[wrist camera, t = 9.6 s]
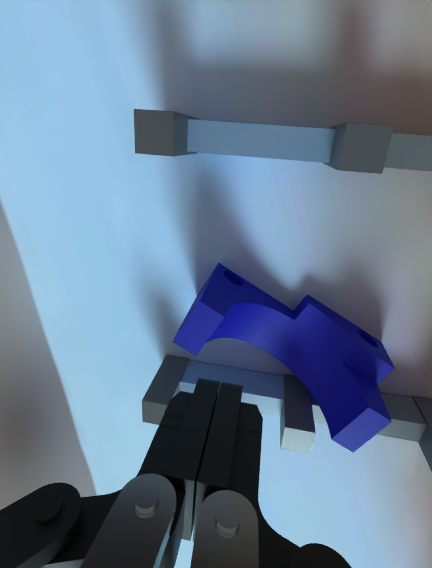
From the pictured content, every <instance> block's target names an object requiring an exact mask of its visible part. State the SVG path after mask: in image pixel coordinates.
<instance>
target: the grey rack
mask: <svg viewBox="0 0 432 568" xmlns="http://www.w3.org/2000/svg"><path fill="white" fill-rule="evenodd" d="M134 129H135V153H140V154H152V155H164V156H179V155H187V154H195V153H198V152H201V153H213V154H225V155H238V156H250V157H262V158H275V159H287V160H300V161H312V162H323V163H324V164H326V165H328V166H330V167H332V168H334V169H336V170H344V171H356V172H368V173H380V174H382V172H383V168H384V167H386V168H399V169H411V170H423V171H432V136H430V135H415V134H400V133H393V129H394V126H389V125H374V124H358V123H345V124H341V125H338V126H335V127H331V128H330V129H326V128H311V127H296V126H281V125H267V124H252V123H237V122H222V121H207V120H199V119H197V118H194V117H190V116H187V115H184V114H180V113H177V112H173V111H157V110H142V109H134ZM198 378H203V379H208V380H214V381H220V386H221V383H222V382H226V383H231V384H237V385H243V391H242V398H241V402H244V403H249V404H255V405H257V406H258V408H259V411H260V413H263V414H269V415H274V416H279V417H280V449H285V450H290V451H295V452H300V453H306V454H310V452H311V448H312V444H313V440H314V437H315V425H314V423H318V424H323V425H327V422H326V420H325V417H324V415H323V413H322V411H321V409H320V407H319V405H318V404H317V402H316V400H315V399H314V397H313V396H312V394H311V393H310V392H309V390H308V389H307V388H306V386H305V385H304V384H303V383H302V381H301V380H300V379H299V378H298V377H296V376H290V375H284V376H280V375H274V374H268V373H262V372H256V371H250V370H244V369H238V368H232V367H226V366H220V365H214V364H208V363H202V362H196V361H190V360H189V359H187V358H181V357H175V356H169V355H166V357H165V359H164V360H163V362H162V364H161V366H160V368H159V370H158V372H157V374H156V375H155V377H154V379H153V381H152V383H151V385H150V387H149V388H148V390H147V392H146V394H145V396H144V398H143V400H142V415H143V422H147V423H152V424H157V425H159V424H160V422H161V419H162V417H163V416H164V412H165V410H166V408H167V405H168V403H169V401H170V400H171V399H172V398H173V397H174V396H175V395H176V394H177V393H179V392H180V391H184V392H189V393H193V392H194V389H195V386H196V383H197V380H198ZM380 393H381V396H382V398H383V401H384V403H385V406H386V408H387V411H388V413H389V416H390V418H391V421H392V422H391V423H390V424H389V425H387V426H386V427H385V428H384V429H382V430H381V431H380V432H378V433H377V434H378V435H383V436H389V437H394V438H400V439H405V440H411V441H416V442H418V443H419V445H420V447H421V449H422V452H423V454H424V456H425V458H426V460H427V462H428V465H429V467H430V469H431V471H432V399H428V398H422V397H416V396H413V398H412V397H406V396H400V395H394V394H388V393H382V392H380Z"/></svg>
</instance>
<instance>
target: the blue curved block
mask: <svg viewBox="0 0 432 568" xmlns="http://www.w3.org/2000/svg"><path fill="white" fill-rule="evenodd" d="M217 338H235V339H239V340H243V341H246V342H249V343H251V344H254V345H256V346H258V347H260V348H262V349H263V350H265V351H267V352H268V353H270V354H271V355H273V356H274V357H276V358H277V359H278V360H280V361H281V362H282V363H283V364H285V365H286V366H287V367H288V368H289V369H290V370H291V371H292V372H293V373H294V374H295V375H296V376H297V377H298V378H299V379H300V380H301V381H302V383H303V384H304V385H305V386H306V388H307V389H308V390H309V392H310V393H311V394H312V396H313V397H314V399H315V400H316V402H317V404H318V405H319V407H320V409H321V411H322V413H323V415H324V417H325V420H326V422H327V425H328V428H329V431H330V435H331V439H332V440H334V441H335V442H337V443H338V444H340V445H342V446H343V447H345V448H347V449H348V450H350V451H351V452H354V451H356V450H357V449H358V448H359V447H361V446H362V445H363V444H365V443H366V442H367V441H368V440H370V439H371V438H372V437H373V436H375V435H376V434H377V433H378V432H380V431H381V430H382V429H384V428H385V427H386V426H387V425H389V424H390V423H391V422H392V421H391V418H390V416H389V413H388V411H387V408H386V406H385V403H384V401H383V398H382V396H381V393H380V391H379V388H378V386H377V384H378V383H379V382H380V381H381V380H382V379H383V378H385V377H386V376H387V375H388V374H389V373H390V372H391V371H393V370H394V369H395V368H394V366H393V364H392V362H391V360H390V358H389V356H388V354H387V352H386V350H385V348H384V346H383V344H382V342H380V341H379V340H377V339H376V338H374V337H373V336H371V335H369V334H368V333H366V332H365V331H363V330H362V329H360V328H359V327H357V326H356V325H354V324H352V323H351V322H349V321H348V320H346V319H345V318H343V317H342V316H340V315H338V314H337V313H335V312H334V311H332V310H331V309H329V308H328V307H326V306H325V305H323V304H321V303H320V302H318V301H317V300H315V299H314V298H312V297H311V296H309V295H307V296H306V297H305V298H304V299H303V300H302V302H301V303H300V304H299V305H298V306H297V308H296V309H295V310H294V311H293V310H291V309H290V308H288V307H287V306H285V305H284V304H282V303H280V302H279V301H277V300H276V299H274V298H273V297H271V296H270V295H268V294H266V293H265V292H263V291H262V290H260V289H259V288H257V287H255V286H254V285H252V284H251V283H249V282H248V281H246V280H244V279H243V278H241V277H240V276H238V275H237V274H235V273H234V272H232V271H230V270H229V269H227V268H226V267H224V266H223V265H221V264H218V265H217V267H216V268H215V270H214V271H213V273H212V274H211V276H210V277H209V279H208V280H207V282H206V283H205V285H204V286H203V288H202V289H201V291H200V292H199V294H198V295H197V297H196V299H195V301H194V303H193V304H192V306H191V308H190V310H189V312H188V314H187V316H186V317H185V319H184V321H183V323H182V325H181V327H180V329H179V330H178V332H177V334H176V336H175V338H174V340H173V342H174V343H176V344H177V345H179V346H180V347H182V348H184V349H185V350H187V351H189V352H190V353H192V354H193V355H195V356H196V355H197V354H198V353H199V351H200V350H201V348H202V347H203V346H204V344H205V343H207V342H209V341H211V340H213V339H217Z"/></svg>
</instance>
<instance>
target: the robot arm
mask: <svg viewBox="0 0 432 568" xmlns="http://www.w3.org/2000/svg"><path fill="white" fill-rule="evenodd" d="M242 391H243V385H237V384H231V383H226V382H222V383H221V386H220V381H214V380H208V379H203V378H198V380H197V383H196V386H195V389H194V392H193V393H189V392H184V391H180V392H179V393H177V394H176V395H175V396H174V397H173V398H172V399H171V400H170V401H169V403H168V405H167V408H166V410H165V412H164V416H163V417H162V419H161V422H160V424H159V428H158V429H157V431H156V434H155V436H154V438H153V441H152V443H151V445H150V448H149V450H148V452H147V455H146V457H145V459H144V462H143V464H142V466H141V469H140V471H139V473H138V474H137V476H136V477H135V478H133V479H132V480H130V481H129V482H128V483H127V484H126V485H125V486H124V487H123V488H122V489H121V490H119V491H117V492H114V493H111V494H106V495H98V496H91V497H82V498H81V497H80V494H79V492H78V491H77V489H76V488H75V487H73V486H72V485H70V484H67V483H53V484H48V485H46V486H43V487H41V488H39V489H37V490H36V491H34V492H32V493H30V494H28V495H27V496H25V497H23V498H21V499H20V500H18V501H16V502H14V503H12V504H11V505H9V506H7V507H5V508H4V509H2V510H0V568H174V566H175V562H176V559H177V555H178V551H179V546H180V542H181V539H185V540H189V541H190V540H191V535H192V531H193V526H194V532H193V541H194V546H193V553H192V560H191V566H190V568H351V566H350V565H349V564H348V563H347V561H346V560H345V559H344V558H343V557H342V556H341V555H340V554H339V553H337V552H336V551H335V550H333V549H332V548H330V547H328V546H325V545H322V544H317V543H310V544H306V545H304V546H302V547H299V546H297V545H295V544H294V543H292V542H290V541H289V540H287V539H286V538H284V537H282V536H281V535H279V534H278V533H277V532H275V531H274V530H273V529H272V528H271V527H270V526H269V524H268V523H267V522H266V520H265V519H264V517H263V515H262V513H261V511H260V507H259V503H258V487H259V471H260V455H261V439H262V422H263V418H262V416H261V413H260V411H259V408H258V406H257V405H255V404H249V403H244V402H241V398H242Z"/></svg>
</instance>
